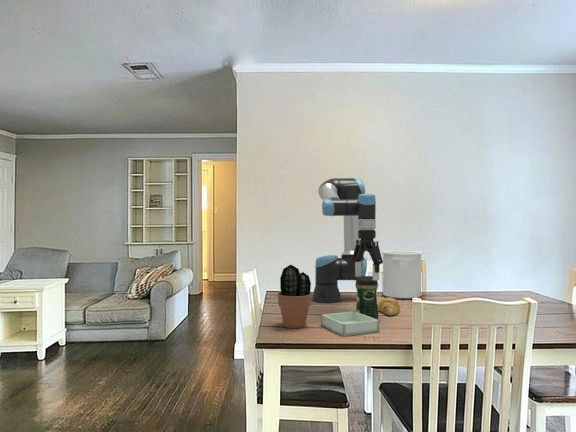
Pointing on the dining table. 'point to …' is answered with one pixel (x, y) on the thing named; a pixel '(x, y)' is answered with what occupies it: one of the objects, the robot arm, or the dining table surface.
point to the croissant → (389, 306)
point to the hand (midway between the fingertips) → (366, 278)
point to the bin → (349, 323)
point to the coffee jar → (367, 296)
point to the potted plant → (294, 297)
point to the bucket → (402, 274)
